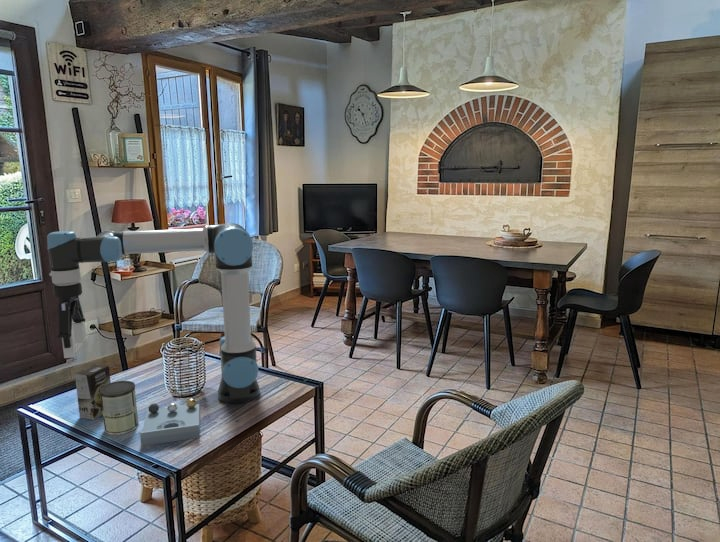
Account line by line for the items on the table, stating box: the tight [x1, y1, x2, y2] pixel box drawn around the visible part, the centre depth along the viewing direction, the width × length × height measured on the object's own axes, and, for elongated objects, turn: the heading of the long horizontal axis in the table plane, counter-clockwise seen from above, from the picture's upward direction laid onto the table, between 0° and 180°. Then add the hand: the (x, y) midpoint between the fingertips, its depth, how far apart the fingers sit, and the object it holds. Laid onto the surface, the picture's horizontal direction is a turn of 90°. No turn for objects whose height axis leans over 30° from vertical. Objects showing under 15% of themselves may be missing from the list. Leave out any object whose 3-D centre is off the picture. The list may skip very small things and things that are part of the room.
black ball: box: [148, 403, 160, 413], centre depth 170 cm, size 3×3×3 cm
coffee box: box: [74, 363, 112, 421], centre depth 174 cm, size 9×6×16 cm
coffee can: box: [100, 380, 139, 436], centre depth 165 cm, size 10×10×14 cm
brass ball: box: [186, 398, 197, 408], centre depth 174 cm, size 3×3×3 cm
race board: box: [139, 403, 201, 447], centre depth 166 cm, size 17×19×4 cm
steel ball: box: [166, 402, 178, 413], centre depth 171 cm, size 3×3×3 cm
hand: (75, 349), depth 157 cm, fingers open, 13 cm apart
